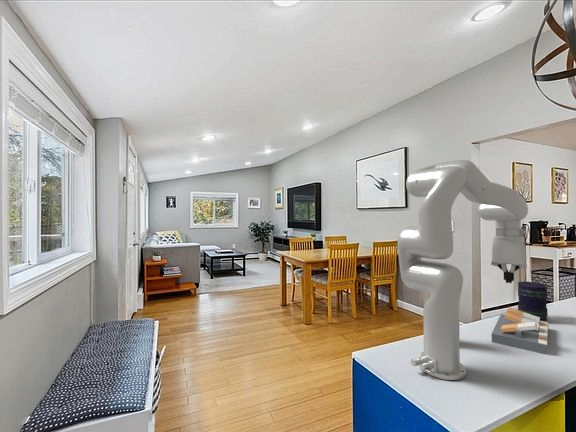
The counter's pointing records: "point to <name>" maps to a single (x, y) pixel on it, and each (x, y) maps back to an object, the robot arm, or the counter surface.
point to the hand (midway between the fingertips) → (508, 282)
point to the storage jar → (533, 299)
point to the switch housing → (522, 336)
